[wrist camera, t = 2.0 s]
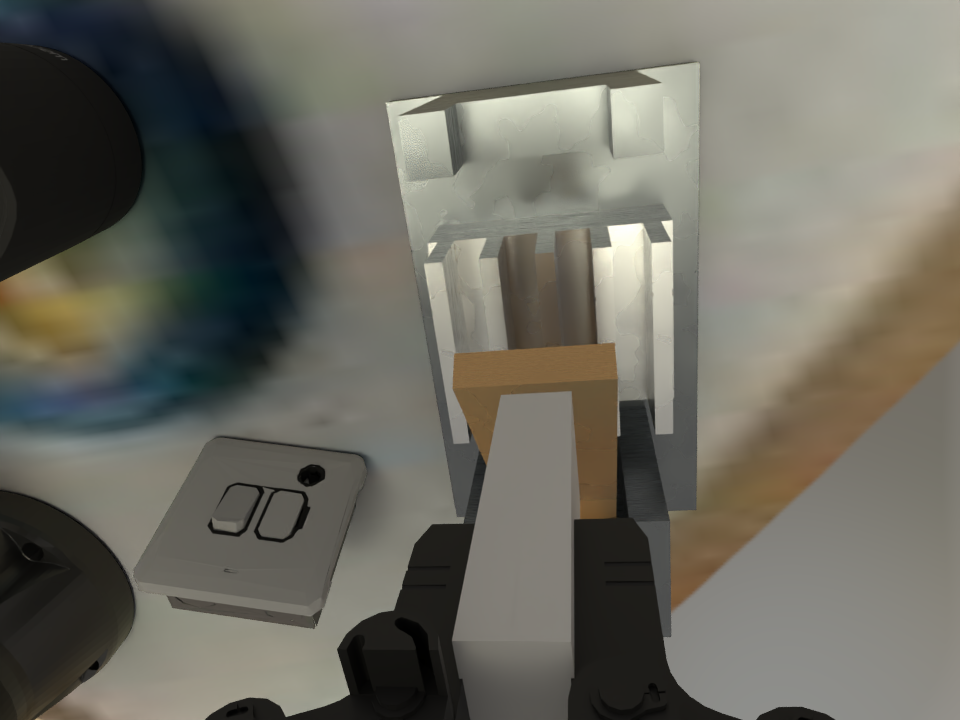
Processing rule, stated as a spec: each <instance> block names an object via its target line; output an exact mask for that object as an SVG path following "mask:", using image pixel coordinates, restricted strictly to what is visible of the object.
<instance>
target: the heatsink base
mask: <svg viewBox="0 0 960 720" xmlns="http://www.w3.org/2000/svg"><path fill="white" fill-rule="evenodd" d="M699 103H700V62H688V63H681V64H673V65H665V66H658V67H650V68H642V69H634V70H627V71H619V72H611V73H603V74H596V75H588V76H580V77H573V78H565V79H557V80H549V81H542V82H534V83H526V84H518V85H511V86H503V87H495V88H488V89H480V90H472V91H464V92H457V93H449V94H441V95H433V96H426V97H418V98H410V99H403V100H395V101H390V102H387V103H386V107H387V113H388V119H389V125H390V130H391V136H392V142H393V148H394V154H395V159H396V165H397V171H398V177H399V183H400V188H401V194H402V200H403V206H404V212H405V218H406V223H407V229H408V235H409V241H410V247H411V252H412V258H413V264H414V270H415V276H416V281H417V287H418V293H419V299H420V305H421V310H422V316H423V322H424V328H425V334H426V339H427V345H428V351H429V357H430V363H431V369H432V374H433V380H434V386H435V392H436V398H437V403H438V409H439V415H440V421H441V427H442V432H443V438H444V444H445V450H446V456H447V461H448V467H449V473H450V479H451V485H452V490H453V496H454V502H455V508H456V514H457V517H465V519H464V524H474V523H475V522H476V517H477V512H478V507H479V502H480V497H481V492H482V487H483V482H484V477H485V472H486V467H487V466H486V463H485V461H484V459H483V457H482V454H481V452H480V450H479V448H478V445H477V443H476V441H475V439H474V436H473V434H472V432H471V429H470V427H469V425H468V423H467V420H466V418H465V416H464V414H463V411H462V409H461V407H460V405H459V402H458V400H457V398H456V396H455V393H454V391H453V389H452V387H453V367H454V354H456V353H471V352H485V351H500V350H515V349H530V348H544V347H559V346H574V345H589V344H604V343H615V352H616V364H617V375H618V412H617V502H616V518H633V519H634V521H635V522H636V523H637V524H638V526H639V527H640V528H641V529H642V531H643V532H644V533H645V535H646V536H647V537H648V541H649V548H650V554H651V561H652V567H653V574H654V581H655V587H656V594H657V600H658V607H659V614H660V620H661V627H662V634H663V637H671V578H670V519H669V515H668V511H674V510H696V473H697V350H698V227H699Z"/></svg>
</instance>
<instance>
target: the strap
mask: <svg viewBox="0 0 960 720" xmlns="http://www.w3.org/2000/svg"><path fill="white" fill-rule="evenodd" d="M452 389H453V391H454V393H455V396H456V398H457V400H458V402H459V405H460V407H461V409H462V411H463V414H464V416H465V418H466V420H467V423H468V425H469V427H470V429H471V432H472V434H473V436H474V439H475V441H476V443H477V445H478V448H479V450H480V452H481V454H482V457H483V459H484V461H485V463H486V466H487V462H488V457H489V452H490V447H491V442H492V437H493V432H494V427H495V422H496V417H497V412H498V407H499V402H500V397H501V395H510V394H529V393H547V392H566V391H572V404H573V416H574V429H575V442H576V455H577V467H578V480H579V493H580V519H610V518H616V502H617V412H618V375H617V364H616V352H615V343H604V344H589V345H574V346H559V347H544V348H530V349H515V350H500V351H485V352H471V353H456V354H454V367H453V387H452Z"/></svg>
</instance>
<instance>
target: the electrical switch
mask: <svg viewBox="0 0 960 720" xmlns="http://www.w3.org/2000/svg"><path fill="white" fill-rule="evenodd" d="M366 476H367V470H366V466H365V463H364V460H363V458H362V457H360V456H358V455H355V454H347V453H339V452H331V451H324V450H316V449H308V448H300V447H292V446H284V445H276V444H268V443H260V442H253V441H245V440H237V439H229V438H215V439H213V440H211V441H209V442H208V443H206V444H205V446H204V448H203V450H202V452H201V454H200V455H199V457H198V459H197V461H196V463H195V464H194V466H193V468H192V470H191V471H190V473H189V475H188V477H187V478H186V480H185V482H184V483H183V485H182V487H181V489H180V490H179V492H178V494H177V496H176V497H175V499H174V501H173V503H172V504H171V506H170V508H169V510H168V511H167V513H166V515H165V517H164V518H163V520H162V522H161V524H160V525H159V527H158V529H157V530H156V532H155V534H154V536H153V537H152V539H151V541H150V543H149V544H148V546H147V548H146V550H145V551H144V553H143V555H142V557H141V558H140V560H139V562H138V564H137V565H136V567H135V569H134V575H133V576H134V578H135V580H136V583H137V585H138V589H139V591H143V592H147V593H153V594H160V595H167V597H168V600H169V602H170V604H171V606H172V608H177V609H183V610H190V611H197V612H204V613H211V614H217V615H224V616H231V617H238V618H245V619H251V620H258V621H265V622H272V623H279V624H285V625H292V626H299V627H306V628H313V629H315V624H316V626H317V624H318V621H319V618H320V615H321V612H322V608H323V607H324V606H325V603H326V599H327V596H328V593H329V590H330V587H331V584H332V582H331V580H332V577H333V574H334V571H335V568H336V565H337V562H338V559H339V556H340V553H341V549H342V546H343V543H344V540H345V537H346V534H347V531H348V528H349V525H350V522H351V518H352V515H353V512H354V509H355V506H356V504H355V501H356V498H357V495H358V492H359V490H362V488H363V485H364V482H365V479H366ZM313 619H314V620H313ZM292 620H293V621H292ZM314 621H315V624H314Z"/></svg>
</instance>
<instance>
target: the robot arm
mask: <svg viewBox="0 0 960 720" xmlns="http://www.w3.org/2000/svg"><path fill="white" fill-rule="evenodd" d="M133 618H134V603H133V597H132V593H131V590H130V587H129V584H128V581H127V579H126V577H125V575H124V573H123V571H122V570H121V568H120V566H119V565H118V563H117V562H116V560H115V559H114V558H113V556H112V555H111V554H110V553H109V551H108V550H107V549H106V548H105V547H104V546H103V545H102V544H101V543H100V542H99V541H98V540H97V539H96V538H95V537H94V536H93V535H92V534H91V533H90V532H88V531H87V530H86V529H85V528H83V527H82V526H81V525H79V524H78V523H77V522H75V521H74V520H72V519H71V518H69V517H68V516H66V515H64V514H63V513H61V512H59V511H57V510H55V509H54V508H52V507H49V506H47V505H45V504H43V503H41V502H38V501H36V500H33V499H30V498H27V497H24V496H21V495H17V494H13V493H8V492H3V491H0V720H35V719H36V718H38V717H39V716H40V715H42V714H43V713H44V712H46V711H47V710H48V709H50V708H51V707H52V706H54V705H55V704H56V703H58V702H59V701H60V700H62V699H63V698H64V697H66V696H67V695H68V694H69V693H71V692H72V691H73V690H74V689H76V688H77V687H78V686H79V685H80V684H81V683H83V682H85V681H87V680H88V679H90V678H91V677H92V676H94V675H95V674H96V673H98V672H99V671H100V670H101V669H102V668H103V667H104V666H105V665H106V664H107V663H108V661H109V660H110V659H111V657H112V656H113V655H114V653H115V652H116V651H117V649H118V648H119V647H120V645H121V644H122V642H123V641H124V640H125V638H126V637H127V635H128V634H129V631H130V629H131V626H132V623H133ZM337 651H338V654H339V658H340V661H341V664H342V668H343V671H344V675H345V678H346V681H347V685H348V688H349V692H350V695H348V696H346V697H345V698H343V699H341V700H340V701H337V702H335V703H332V704H330V705H327V706H324V707H321V708H317V709H314V710H310V711H307V712H303V713H299V714H296V715H292V716H289V717H286V716H285V715H284V713H283V711H282V709H281V707H280V706H279V705H277V704H275V703H274V702H272V701H270V700H268V699H264V698H246V699H243V700H239V701H235V702H232V703H229V704H227V705H226V706H224V707H222V708H221V709H219V710H217V711H215V712H214V713H212V714H210V715H209V716H208V717H207V718H206V719H205V720H741V719H738V718H735V717H732V716H728V715H725V714H722V713H720V712H717V711H715V710H712V709H710V708H707V707H705V706H703V705H702V704H700V703H699V702H697V701H696V700H694V699H693V698H691V697H690V696H689V695H688V694H687V693H686V692H685V691H684V690H683V689H682V688H681V687H680V686H679V685H678V684H677V682H676V680H675V679H674V677H673V676H672V674H671V673H670V669H669V666H668V663H667V660H666V654H665V647H664V640H663V634H662V627H661V620H660V614H659V607H658V600H657V594H656V587H655V581H654V574H653V567H652V561H651V554H650V548H649V541H648V537H647V536H646V535H645V533H644V532H643V531H642V529H641V528H640V527H639V526H638V524H637V523H636V522H635V521H634V519H633V518H610V519H580V493H579V480H578V467H577V455H576V442H575V429H574V416H573V404H572V391H566V392H547V393H529V394H510V395H501V397H500V402H499V407H498V412H497V417H496V422H495V427H494V432H493V437H492V442H491V447H490V452H489V457H488V462H487V467H486V472H485V477H484V482H483V487H482V492H481V497H480V502H479V507H478V512H477V517H476V522H475V523H474V524H432V525H431V526H430V527H429V528H428V530H427V531H426V532H425V533H424V534H423V535H422V536H421V538H420V539H419V540H418V541H417V542H416V543H415V545H414V548H413V551H412V555H411V558H410V561H409V564H408V571H406V574H405V577H404V580H403V584H402V590H400V593H399V597H398V600H397V603H396V606H395V609H394V611H388V612H382V613H378V614H376V615H374V616H372V617H370V618H367V619H365V620H363V621H361V622H360V623H359V624H358V625H356V626H355V627H354V628H353V629H352V630H351V631H349V632H348V633H347V634H346V636H345V637H344V639H343V641H342V642H341V644H340V646H339V647H338V649H337ZM757 720H835V719H833V718H831V717H830V716H828V715H827V714H824V713H820V712H817V711H814V710H810V709H807V708H804V707H778V708H776V709H773V710H771V711H769V712H766V713H764V714H762V715H760V716H759V717H758V718H757Z"/></svg>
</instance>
